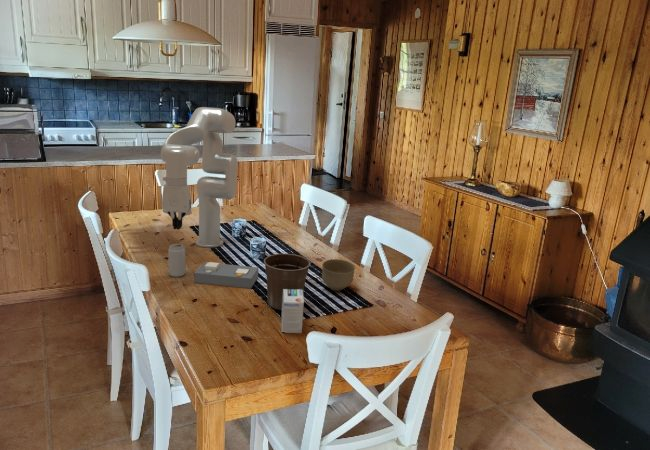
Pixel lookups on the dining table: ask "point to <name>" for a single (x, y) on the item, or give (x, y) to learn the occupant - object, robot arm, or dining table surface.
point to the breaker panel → (226, 276)
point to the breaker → (212, 266)
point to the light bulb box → (292, 311)
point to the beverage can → (177, 260)
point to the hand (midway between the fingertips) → (177, 228)
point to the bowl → (337, 273)
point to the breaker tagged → (242, 271)
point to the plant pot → (284, 276)
